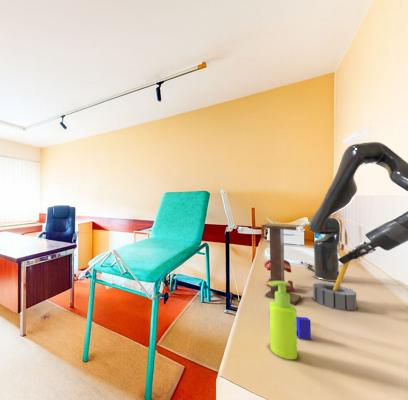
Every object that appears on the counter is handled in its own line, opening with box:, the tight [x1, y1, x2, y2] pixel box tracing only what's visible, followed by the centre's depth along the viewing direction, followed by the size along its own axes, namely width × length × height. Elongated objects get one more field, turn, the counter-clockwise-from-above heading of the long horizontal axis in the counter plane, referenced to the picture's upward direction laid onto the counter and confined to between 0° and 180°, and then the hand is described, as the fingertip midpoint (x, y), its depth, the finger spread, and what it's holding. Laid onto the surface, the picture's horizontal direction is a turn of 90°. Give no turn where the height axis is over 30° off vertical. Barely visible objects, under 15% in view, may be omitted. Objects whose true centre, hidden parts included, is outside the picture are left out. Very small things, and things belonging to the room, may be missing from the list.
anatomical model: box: [263, 259, 294, 293], centre depth 104 cm, size 10×8×15 cm
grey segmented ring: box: [312, 282, 357, 311], centre depth 88 cm, size 12×12×6 cm
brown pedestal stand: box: [261, 222, 304, 306], centre depth 94 cm, size 12×10×32 cm
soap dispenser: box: [266, 280, 298, 360], centre depth 61 cm, size 6×7×20 cm
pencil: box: [332, 249, 353, 291], centre depth 86 cm, size 20×1×1 cm
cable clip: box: [296, 316, 312, 340], centre depth 72 cm, size 12×4×6 cm, turn 168°
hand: (341, 261), depth 87 cm, fingers closed on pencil, 1 cm apart
